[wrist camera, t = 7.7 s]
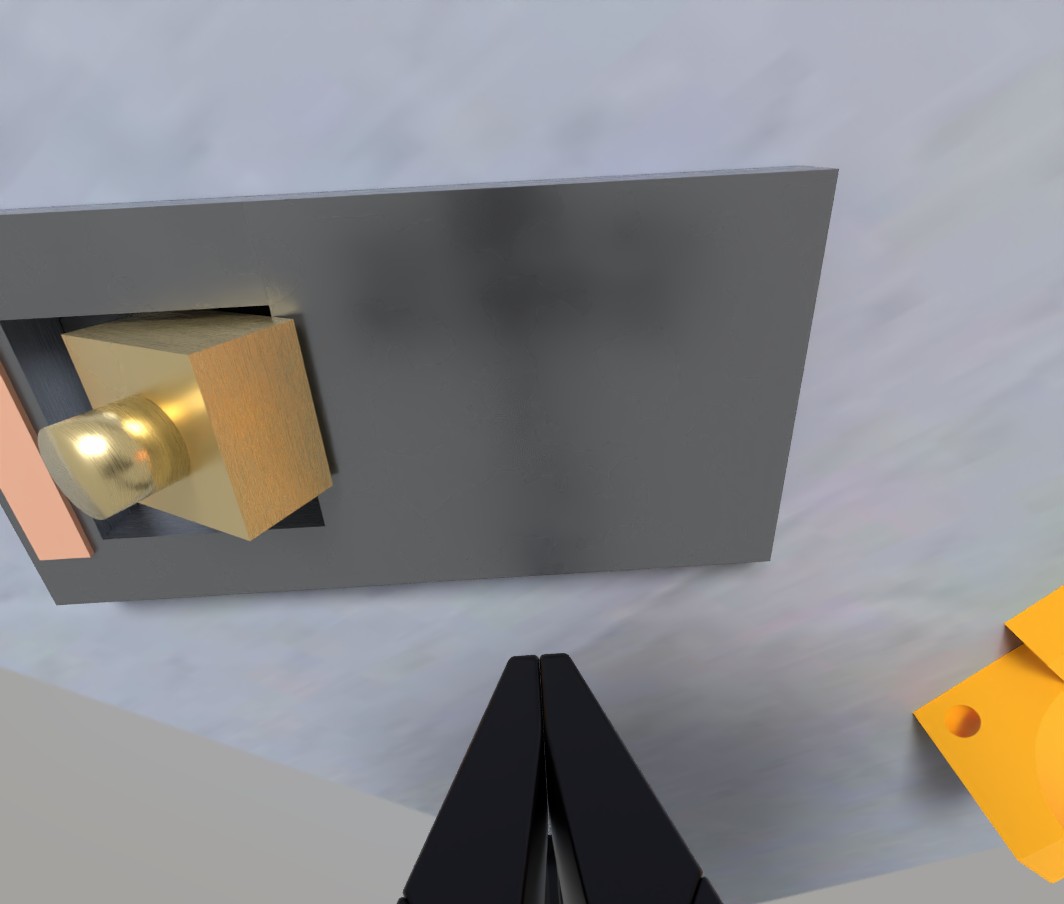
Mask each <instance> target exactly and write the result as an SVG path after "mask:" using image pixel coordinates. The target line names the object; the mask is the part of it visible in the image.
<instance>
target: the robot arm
mask: <svg viewBox="0 0 1064 904" xmlns="http://www.w3.org/2000/svg"><path fill="white" fill-rule="evenodd" d="M539 661H540V667H539ZM540 679H541V683H540ZM541 696H542V699H541ZM542 713H543V715H542ZM543 729H544V732H543ZM544 746H545V749H544ZM545 762H546V767H545ZM546 779H547V784H546ZM547 795H548V802H547ZM548 808H549V819H550V826H551V833H552V835H548ZM702 875H703V871H702V869H701V867H700V866H699V864H698V862H697V861H696V859H695V858H694V856H693V854H692V853H691V851H690V850H689V848H688V846H687V845H686V843H685V841H684V840H683V838H682V837H681V835H680V833H679V832H678V830H677V829H676V827H675V825H674V824H673V822H672V820H671V819H670V817H669V816H668V814H667V812H666V811H665V809H664V808H663V806H662V804H661V803H660V801H659V800H658V798H657V796H656V795H655V793H654V791H653V790H652V788H651V787H650V785H649V783H648V782H647V780H646V779H645V777H644V775H643V774H642V772H641V770H640V769H639V767H638V766H637V764H636V762H635V761H634V759H633V758H632V756H631V754H630V753H629V751H628V749H627V748H626V746H625V745H624V743H623V741H622V740H621V738H620V737H619V735H618V733H617V732H616V730H615V729H614V727H613V725H612V724H611V722H610V720H609V719H608V717H607V716H606V714H605V712H604V711H603V709H602V708H601V706H600V704H599V703H598V701H597V699H596V698H595V696H594V695H593V693H592V691H591V690H590V688H589V687H588V685H587V683H586V682H585V680H584V679H583V677H582V675H581V674H580V672H579V670H578V669H577V667H576V666H575V664H574V662H573V661H572V659H571V658H570V657H569V655H567V654H566V653H557V654H544V655H542V656H541V657H540V660H539V658H538V657H537V656H536V655H526V656H514V657H511V658H510V659H509V661H508V663H507V665H506V667H505V669H504V671H503V673H502V676H501V678H500V680H499V682H498V684H497V686H496V689H495V691H494V693H493V695H492V697H491V700H490V702H489V704H488V706H487V708H486V710H485V713H484V715H483V717H482V719H481V721H480V724H479V726H478V728H477V730H476V732H475V734H474V737H473V739H472V741H471V743H470V745H469V748H468V750H467V752H466V754H465V756H464V758H463V761H462V763H461V765H460V767H459V769H458V772H457V774H456V776H455V778H454V780H453V782H452V785H451V787H450V789H449V791H448V793H447V796H446V798H445V800H444V802H443V804H442V806H441V809H440V811H439V813H438V815H437V817H436V820H435V822H434V824H433V826H432V828H431V830H430V833H429V835H428V837H427V839H426V842H425V844H424V846H423V848H422V850H421V852H420V855H419V857H418V859H417V861H416V863H415V865H414V868H413V870H412V872H411V874H410V876H409V879H408V881H407V883H406V885H405V887H404V889H403V895H404V897H401V898H399V900H398V902H397V904H723V902H722V901H721V899H720V897H719V896H718V894H717V893H716V891H715V889H714V888H713V886H712V884H711V883H710V881H709V880H708V878H706V877H702Z"/></svg>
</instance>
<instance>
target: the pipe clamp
mask: <svg viewBox="0 0 1064 904" xmlns="http://www.w3.org/2000/svg"><path fill="white" fill-rule="evenodd" d="M1004 624H1005V625H1006V626H1007V627H1008V628H1009V629H1010V630H1011V631H1012V632H1013V633H1014V634H1015V635H1016V636H1017V637H1018V638H1019V639H1020V640H1022V641H1023V642H1024V643H1023V644H1022V645H1020V646H1019V647H1017V648H1015V649H1014V650H1012V651H1011V652H1009V653H1007V654H1006V655H1004V656H1003V657H1001V658H999V659H998V660H996V661H995V662H993V663H991V664H990V665H988V666H987V667H985V668H983V669H982V670H980V671H979V672H977V673H975V674H974V675H972V676H971V677H969V678H967V679H966V680H964V681H963V682H961V683H959V684H958V685H956V686H955V687H953V688H951V689H950V690H948V691H947V692H945V693H943V694H942V695H940V696H939V697H937V698H935V699H934V700H932V701H931V702H929V703H927V704H926V705H924V706H923V707H921V708H919V709H918V710H916V711H915V712H913V714H914V715H915V716H916V718H917V719H918V721H919V722H920V723H921V725H922V726H923V728H924V729H925V730H926V732H927V733H928V735H929V736H930V738H931V739H932V740H933V742H934V743H935V745H936V746H937V747H938V749H939V750H940V752H941V753H942V754H943V756H944V757H945V759H946V760H947V761H948V763H949V764H950V766H951V767H952V768H953V770H954V771H955V773H956V774H957V776H958V777H959V778H960V780H961V781H962V783H963V784H964V785H965V787H966V788H967V790H968V791H969V792H970V794H971V795H972V797H973V798H974V799H975V801H976V802H977V804H978V805H979V807H980V808H981V809H982V811H983V812H984V814H985V815H986V816H987V818H988V819H989V821H990V822H991V823H992V825H993V826H994V828H995V829H996V830H997V832H998V833H999V835H1000V836H1001V837H1002V839H1003V840H1004V842H1005V843H1006V845H1007V846H1008V847H1009V849H1010V850H1011V852H1012V853H1013V854H1014V855H1015V857H1016V859H1017V860H1018V861H1019V862H1021V863H1022V864H1024V865H1025V866H1027V867H1028V868H1030V869H1031V870H1033V871H1034V872H1035V873H1037V874H1038V875H1040V876H1042V877H1043V878H1044V879H1046V880H1047V881H1049V882H1050V883H1054V882H1056V881H1059V880H1061V879H1063V878H1064V585H1063V586H1061V587H1060V588H1058V589H1057V590H1055V591H1054V592H1052V593H1051V594H1049V595H1048V596H1046V597H1044V598H1043V599H1041V600H1040V601H1038V602H1037V603H1035V604H1034V605H1032V606H1030V607H1029V608H1027V609H1026V610H1024V611H1023V612H1021V613H1020V614H1018V615H1017V616H1015V617H1013V618H1012V619H1010V620H1009V621H1007V622H1006V623H1004Z"/></svg>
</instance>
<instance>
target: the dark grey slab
mask: <svg viewBox="0 0 1064 904" xmlns="http://www.w3.org/2000/svg"><path fill="white" fill-rule="evenodd" d="M838 171H839V169H835V168H823V167H811V166H789V167H771V168H753V169H735V170H716V171H698V172H680V173H662V174H644V175H625V176H607V177H589V178H571V179H552V180H534V181H516V182H498V183H480V184H461V185H443V186H425V187H407V188H388V189H370V190H352V191H334V192H316V193H297V194H279V195H261V196H243V197H224V198H206V199H188V200H170V201H152V202H133V203H115V204H97V205H79V206H60V207H42V208H24V209H6V210H0V504H1V506H2V508H3V510H4V511H5V513H6V515H7V517H8V519H9V520H10V522H11V524H12V526H13V528H14V529H15V531H16V533H17V535H18V537H19V538H20V540H21V542H22V544H23V546H24V547H25V549H26V551H27V553H28V555H29V556H30V558H31V560H32V562H33V564H34V565H35V567H36V569H37V571H38V573H39V574H40V576H41V578H42V580H43V582H44V583H45V585H46V587H47V589H48V591H49V592H50V594H51V596H52V598H53V600H54V601H55V603H56V605H67V604H83V603H99V602H115V601H132V600H148V599H164V598H180V597H196V596H212V595H229V594H245V593H261V592H277V591H293V590H310V589H326V588H342V587H358V586H374V585H390V584H407V583H423V582H439V581H455V580H471V579H488V578H504V577H520V576H536V575H552V574H569V573H585V572H601V571H617V570H633V569H649V568H666V567H682V566H698V565H714V564H730V563H747V562H763V561H770V558H771V553H772V547H773V541H774V536H775V530H776V524H777V518H778V513H779V507H780V501H781V496H782V490H783V484H784V479H785V473H786V467H787V462H788V456H789V450H790V445H791V439H792V433H793V427H794V422H795V416H796V410H797V405H798V399H799V393H800V388H801V382H802V376H803V371H804V365H805V359H806V354H807V348H808V342H809V336H810V331H811V325H812V319H813V314H814V308H815V302H816V297H817V291H818V285H819V280H820V274H821V268H822V263H823V257H824V251H825V245H826V240H827V234H828V228H829V223H830V217H831V211H832V206H833V200H834V194H835V189H836V183H837V177H838ZM263 305H269V308H270V312H271V316H272V317H278V318H287V319H293V320H294V324H295V328H296V332H297V337H298V341H299V345H300V349H301V353H302V357H303V362H304V366H305V370H306V374H307V378H308V382H309V387H310V391H311V395H312V399H313V403H314V407H315V412H316V416H317V420H318V424H319V428H320V433H321V437H322V441H323V445H324V449H325V453H326V458H327V462H328V466H329V470H330V474H331V478H332V483H333V486H331V487H330V488H328V489H327V490H325V491H324V492H322V493H321V494H319V495H318V496H316V497H315V498H313V499H312V500H311V501H309V502H308V503H306V504H305V505H303V506H302V507H300V508H299V509H297V510H296V511H294V512H293V513H291V514H290V515H288V516H287V517H285V518H284V519H282V520H281V521H279V522H278V523H276V524H275V525H273V526H272V527H270V528H269V529H267V530H266V531H264V532H263V533H262V534H260V535H259V536H257V537H256V538H254V539H253V540H251V541H248V540H245V539H242V538H239V537H237V536H234V535H231V534H228V533H225V532H222V531H219V530H216V529H213V528H210V527H208V526H205V525H202V524H199V523H196V522H193V521H190V520H187V519H184V518H181V517H178V516H176V515H173V514H170V513H167V512H164V511H161V510H158V509H155V508H152V507H149V506H147V505H138V504H137V503H135V504H134V505H132V506H130V507H128V508H126V509H124V510H122V511H120V512H118V513H116V514H114V515H112V516H110V517H108V518H107V519H104V520H98V519H94V518H92V517H90V516H88V515H87V514H85V513H84V512H82V511H81V510H80V509H79V508H77V507H76V506H75V505H74V504H73V503H72V502H71V501H70V500H69V499H68V498H67V497H66V495H65V494H64V493H63V492H62V491H61V489H60V488H59V487H58V485H57V484H56V483H55V481H54V480H53V478H52V477H51V475H50V473H49V471H48V470H47V468H46V466H45V464H44V462H43V459H42V457H41V454H40V451H39V447H38V440H37V439H38V433H39V431H40V430H41V429H42V428H44V427H47V426H50V425H53V424H55V423H58V422H61V421H63V420H66V419H69V418H72V417H74V416H77V415H80V414H82V413H85V412H88V411H90V410H93V408H92V406H91V403H90V401H89V399H88V396H87V394H86V392H85V389H84V387H83V385H82V382H81V380H80V378H79V375H78V373H77V371H76V368H75V366H74V364H73V362H72V359H71V357H70V355H69V352H68V350H67V348H66V345H65V343H64V341H63V338H62V336H61V334H64V331H63V329H62V326H61V324H60V321H59V319H58V317H69V316H87V315H104V314H122V313H139V312H157V311H175V310H192V309H210V308H227V307H245V306H263Z"/></svg>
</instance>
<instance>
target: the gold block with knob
mask: <svg viewBox="0 0 1064 904" xmlns="http://www.w3.org/2000/svg"><path fill="white" fill-rule="evenodd" d="M61 336H62V338H63V341H64V343H65V345H66V348H67V350H68V352H69V355H70V357H71V359H72V362H73V364H74V366H75V368H76V371H77V373H78V375H79V378H80V380H81V382H82V385H83V387H84V389H85V392H86V394H87V396H88V399H89V401H90V403H91V406H92V408H93V410H90V411H88V412H85V413H82V414H80V415H77V416H74V417H72V418H69V419H66V420H63V421H61V422H58V423H55V424H53V425H50V426H47V427H44V428H42V429H41V430H40V431H39V433H38V439H37V440H38V447H39V451H40V454H41V457H42V459H43V462H44V464H45V466H46V468H47V470H48V471H49V473H50V475H51V477H52V478H53V480H54V481H55V483H56V484H57V485H58V487H59V488H60V489H61V491H62V492H63V493H64V494H65V495H66V497H67V498H68V499H69V500H70V501H71V502H72V503H73V504H74V505H75V506H76V507H77V508H79V509H80V510H81V511H82V512H84V513H85V514H87V515H88V516H90V517H92V518H94V519H98V520H104V519H107V518H108V517H110V516H112V515H114V514H116V513H118V512H120V511H122V510H124V509H126V508H128V507H130V506H132V505H134V504H135V503H137V502H138V503H141V504H144V505H147V506H149V507H152V508H155V509H158V510H161V511H164V512H167V513H170V514H173V515H176V516H178V517H181V518H184V519H187V520H190V521H193V522H196V523H199V524H202V525H205V526H208V527H210V528H213V529H216V530H219V531H222V532H225V533H228V534H231V535H234V536H237V537H239V538H242V539H245V540H248V541H251V540H253V539H254V538H256V537H257V536H259V535H260V534H262V533H263V532H264V531H266V530H267V529H269V528H270V527H272V526H273V525H275V524H276V523H278V522H279V521H281V520H282V519H284V518H285V517H287V516H288V515H290V514H291V513H293V512H294V511H296V510H297V509H299V508H300V507H302V506H303V505H305V504H306V503H308V502H309V501H311V500H312V499H313V498H315V497H316V496H318V495H319V494H321V493H322V492H324V491H325V490H327V489H328V488H330V487H331V486H333V483H332V478H331V474H330V470H329V466H328V462H327V458H326V453H325V449H324V445H323V441H322V437H321V433H320V428H319V424H318V420H317V416H316V412H315V407H314V403H313V399H312V395H311V391H310V387H309V382H308V378H307V374H306V370H305V366H304V362H303V357H302V353H301V349H300V345H299V341H298V337H297V332H296V328H295V324H294V320H293V319H287V318H278V317H269V316H260V315H251V314H242V313H233V312H224V311H215V310H206V309H192V310H175V311H157V312H144V313H140V314H137V315H133V316H129V317H125V318H121V319H118V320H114V321H110V322H106V323H102V324H99V325H95V326H91V327H87V328H83V329H80V330H76V331H72V332H68V333H64V334H61Z"/></svg>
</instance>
